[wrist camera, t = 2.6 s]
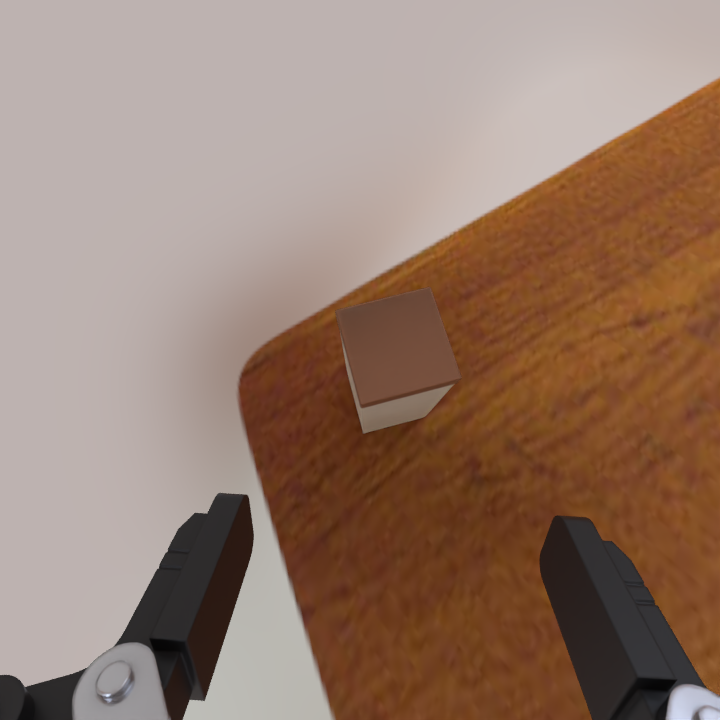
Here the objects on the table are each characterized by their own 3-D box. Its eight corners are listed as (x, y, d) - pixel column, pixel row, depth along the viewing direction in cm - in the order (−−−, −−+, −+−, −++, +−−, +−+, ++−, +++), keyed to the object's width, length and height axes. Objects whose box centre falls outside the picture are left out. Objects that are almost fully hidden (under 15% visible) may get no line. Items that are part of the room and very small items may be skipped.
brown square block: (362, 434, 23) (360, 405, 14) (346, 372, 24) (334, 309, 15) (426, 417, 23) (462, 378, 14) (407, 356, 24) (430, 285, 15)
